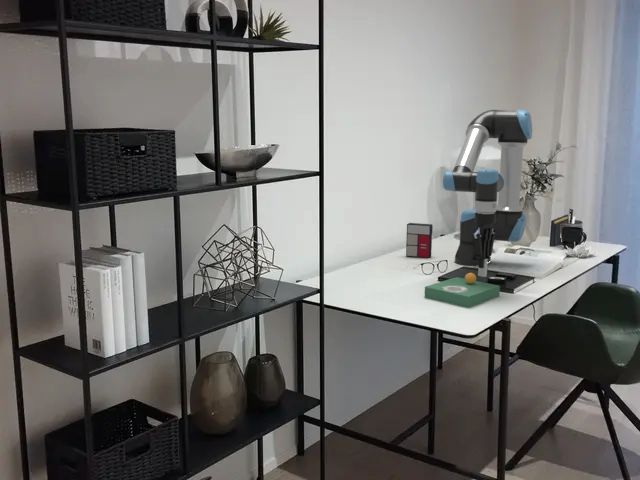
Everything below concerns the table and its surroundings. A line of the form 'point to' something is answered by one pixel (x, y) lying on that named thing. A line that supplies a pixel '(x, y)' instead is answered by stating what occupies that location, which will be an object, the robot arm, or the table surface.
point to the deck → (462, 292)
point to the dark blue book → (556, 230)
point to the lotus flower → (579, 251)
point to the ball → (470, 278)
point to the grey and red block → (419, 240)
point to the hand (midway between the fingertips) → (482, 276)
